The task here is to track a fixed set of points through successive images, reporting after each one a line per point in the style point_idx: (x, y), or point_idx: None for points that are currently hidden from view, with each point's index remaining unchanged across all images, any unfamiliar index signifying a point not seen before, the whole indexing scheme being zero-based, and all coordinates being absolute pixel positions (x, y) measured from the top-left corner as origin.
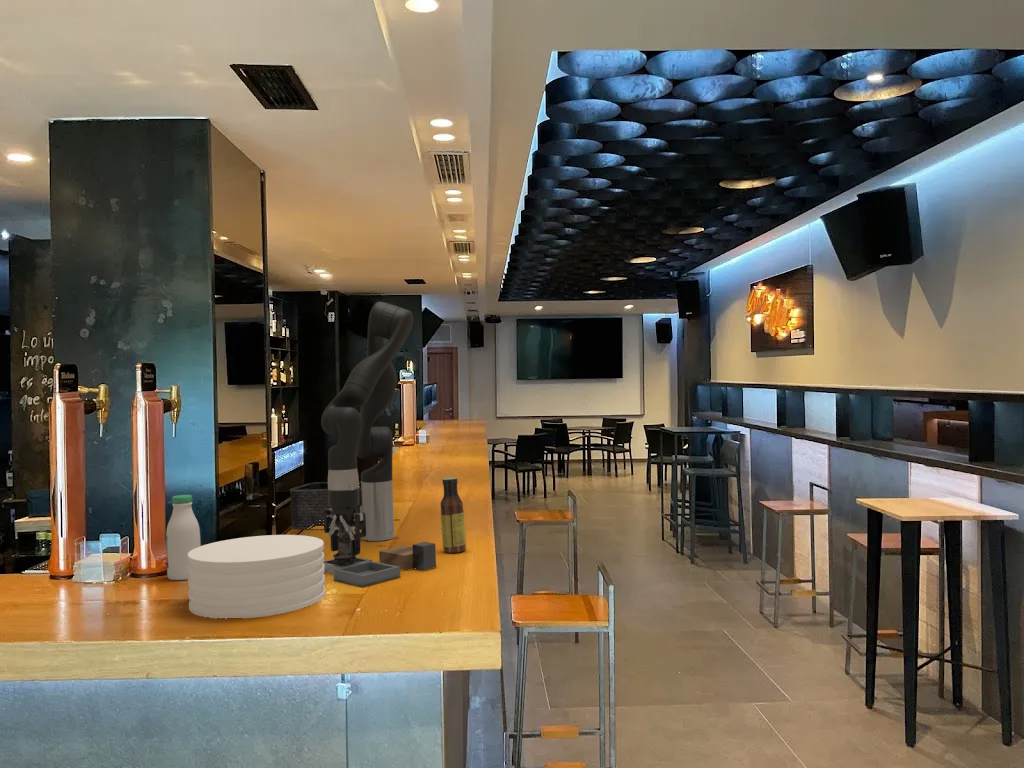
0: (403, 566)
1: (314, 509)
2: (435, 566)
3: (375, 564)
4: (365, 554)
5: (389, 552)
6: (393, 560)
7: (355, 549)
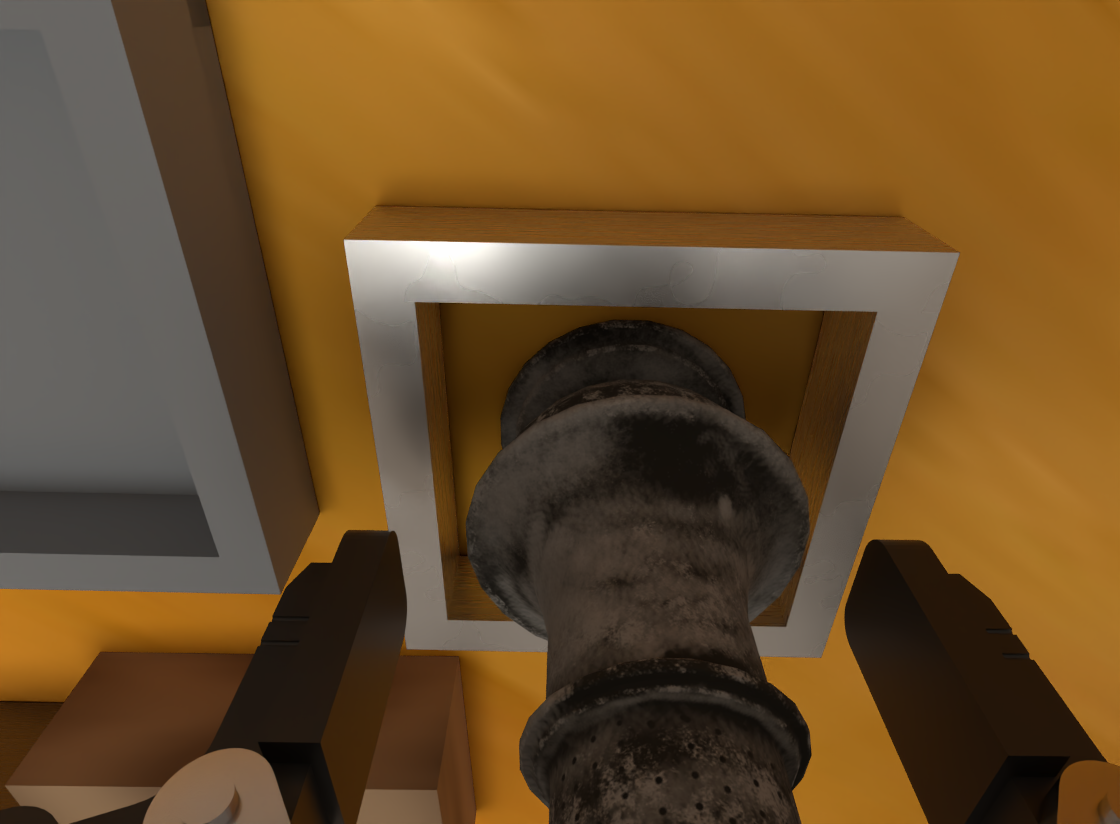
0: (114, 682)
1: None
2: None
3: (123, 543)
4: (887, 790)
5: None
6: None
7: (280, 608)
